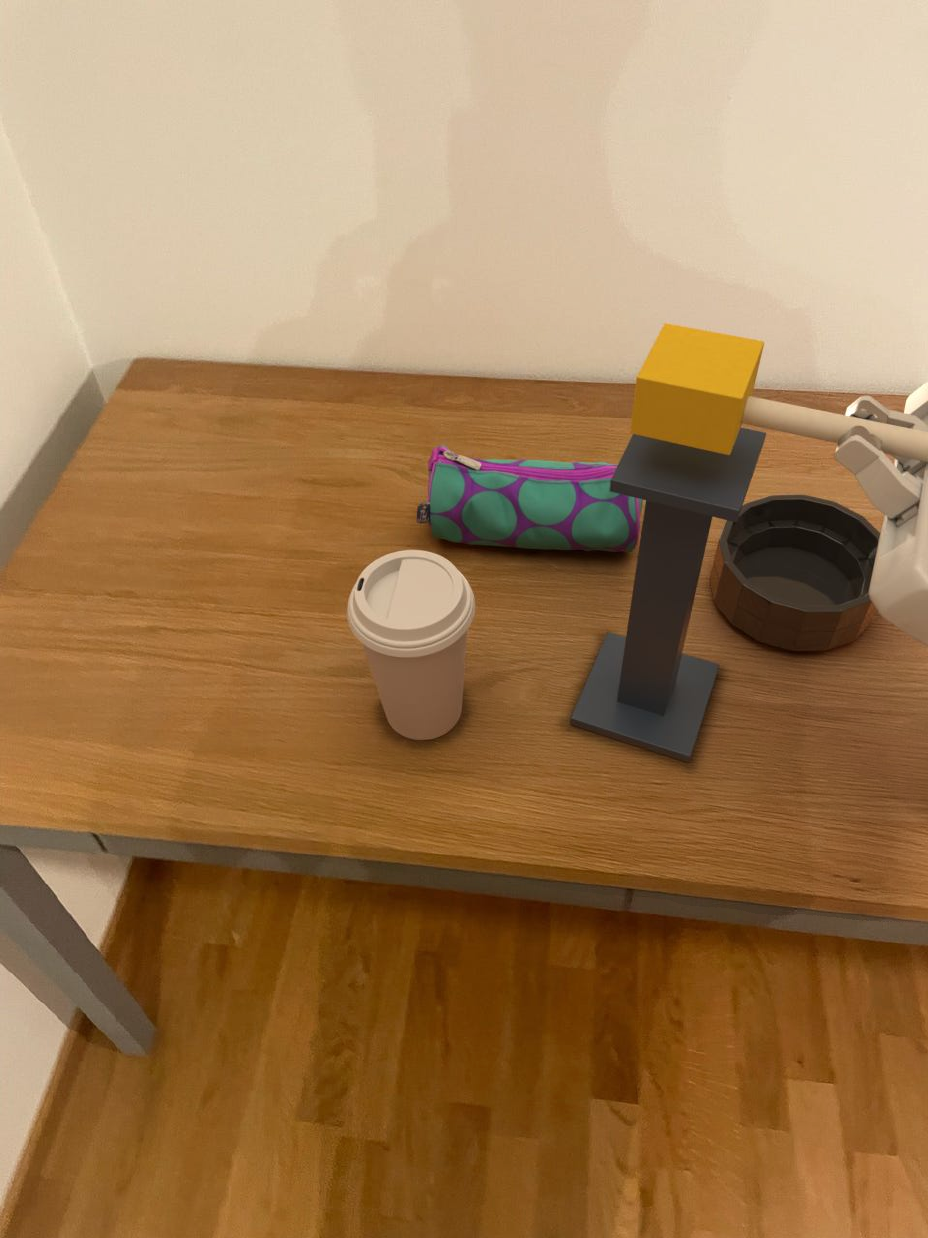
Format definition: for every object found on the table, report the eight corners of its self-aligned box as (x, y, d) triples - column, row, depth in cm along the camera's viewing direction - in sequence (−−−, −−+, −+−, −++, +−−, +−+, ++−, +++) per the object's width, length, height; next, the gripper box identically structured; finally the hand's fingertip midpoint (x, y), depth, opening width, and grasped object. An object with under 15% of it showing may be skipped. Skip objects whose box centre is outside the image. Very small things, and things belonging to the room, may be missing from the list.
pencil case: (420, 559, 90) (412, 483, 83) (434, 498, 96) (427, 422, 88) (636, 574, 88) (647, 497, 80) (637, 511, 93) (648, 434, 86)
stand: (718, 671, 80) (785, 426, 60) (688, 763, 74) (752, 525, 54) (606, 638, 83) (636, 394, 63) (569, 724, 77) (589, 485, 57)
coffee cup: (406, 649, 83) (390, 526, 71) (500, 690, 79) (498, 568, 68) (345, 726, 77) (316, 607, 66) (442, 774, 74) (429, 657, 63)
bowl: (881, 563, 87) (901, 516, 83) (859, 676, 79) (880, 631, 74) (728, 525, 91) (740, 479, 87) (692, 629, 83) (702, 583, 78)
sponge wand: (978, 443, 53) (1005, 385, 50) (970, 509, 50) (1000, 450, 47) (656, 378, 59) (664, 322, 56) (629, 433, 55) (636, 376, 52)
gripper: (968, 717, 51) (774, 572, 49) (990, 486, 63) (834, 363, 61) (1078, 672, 46) (866, 510, 44) (1079, 431, 58) (912, 296, 56)
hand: (848, 423), depth 53 cm, fingers closed on sponge wand, 2 cm apart
